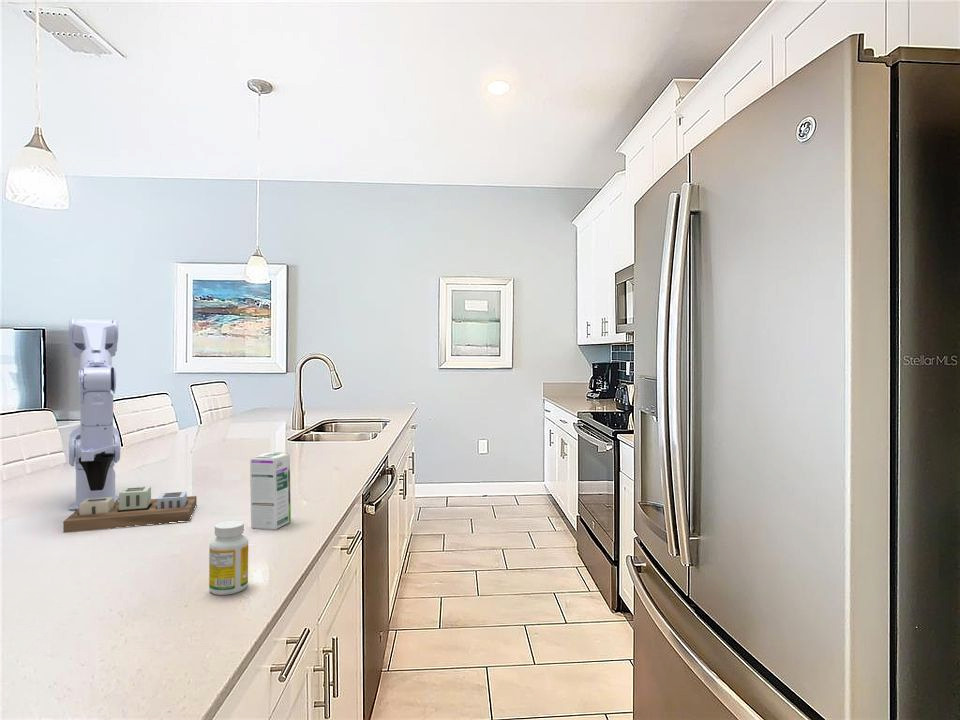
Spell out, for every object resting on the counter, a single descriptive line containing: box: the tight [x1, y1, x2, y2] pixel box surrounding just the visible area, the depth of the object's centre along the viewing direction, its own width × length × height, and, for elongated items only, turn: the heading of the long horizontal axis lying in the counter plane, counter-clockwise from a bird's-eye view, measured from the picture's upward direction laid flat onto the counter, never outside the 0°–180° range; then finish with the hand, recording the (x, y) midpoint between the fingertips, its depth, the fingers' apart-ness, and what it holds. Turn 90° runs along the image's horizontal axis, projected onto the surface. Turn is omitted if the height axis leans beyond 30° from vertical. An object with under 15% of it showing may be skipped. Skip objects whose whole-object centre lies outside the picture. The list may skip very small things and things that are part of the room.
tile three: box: [156, 491, 188, 509], centre depth 126 cm, size 5×5×4 cm
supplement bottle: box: [208, 520, 249, 596], centre depth 87 cm, size 5×5×10 cm
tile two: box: [118, 485, 152, 510], centre depth 124 cm, size 5×5×4 cm
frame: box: [62, 495, 197, 533], centre depth 124 cm, size 14×22×2 cm, turn 110°
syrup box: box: [249, 452, 292, 531], centre depth 119 cm, size 6×6×14 cm
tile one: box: [79, 497, 114, 515], centre depth 122 cm, size 5×5×4 cm
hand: (97, 489), depth 122 cm, fingers closed
